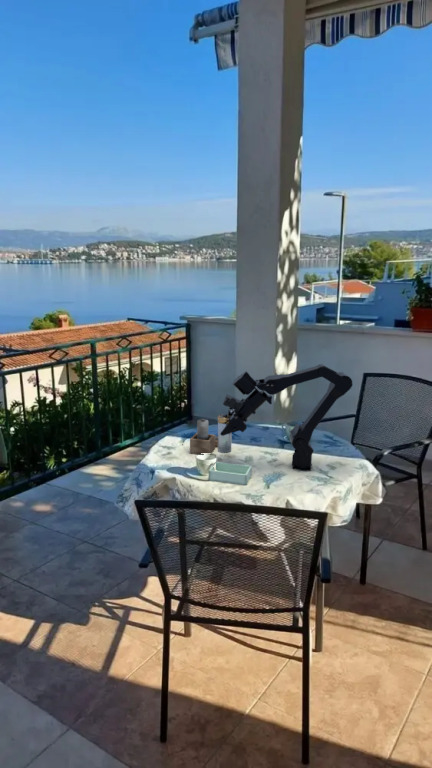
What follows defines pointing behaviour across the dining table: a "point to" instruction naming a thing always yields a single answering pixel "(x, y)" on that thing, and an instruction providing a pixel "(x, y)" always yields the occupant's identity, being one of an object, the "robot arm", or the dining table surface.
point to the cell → (225, 440)
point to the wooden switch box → (216, 442)
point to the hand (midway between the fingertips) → (221, 432)
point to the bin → (202, 439)
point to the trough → (230, 473)
